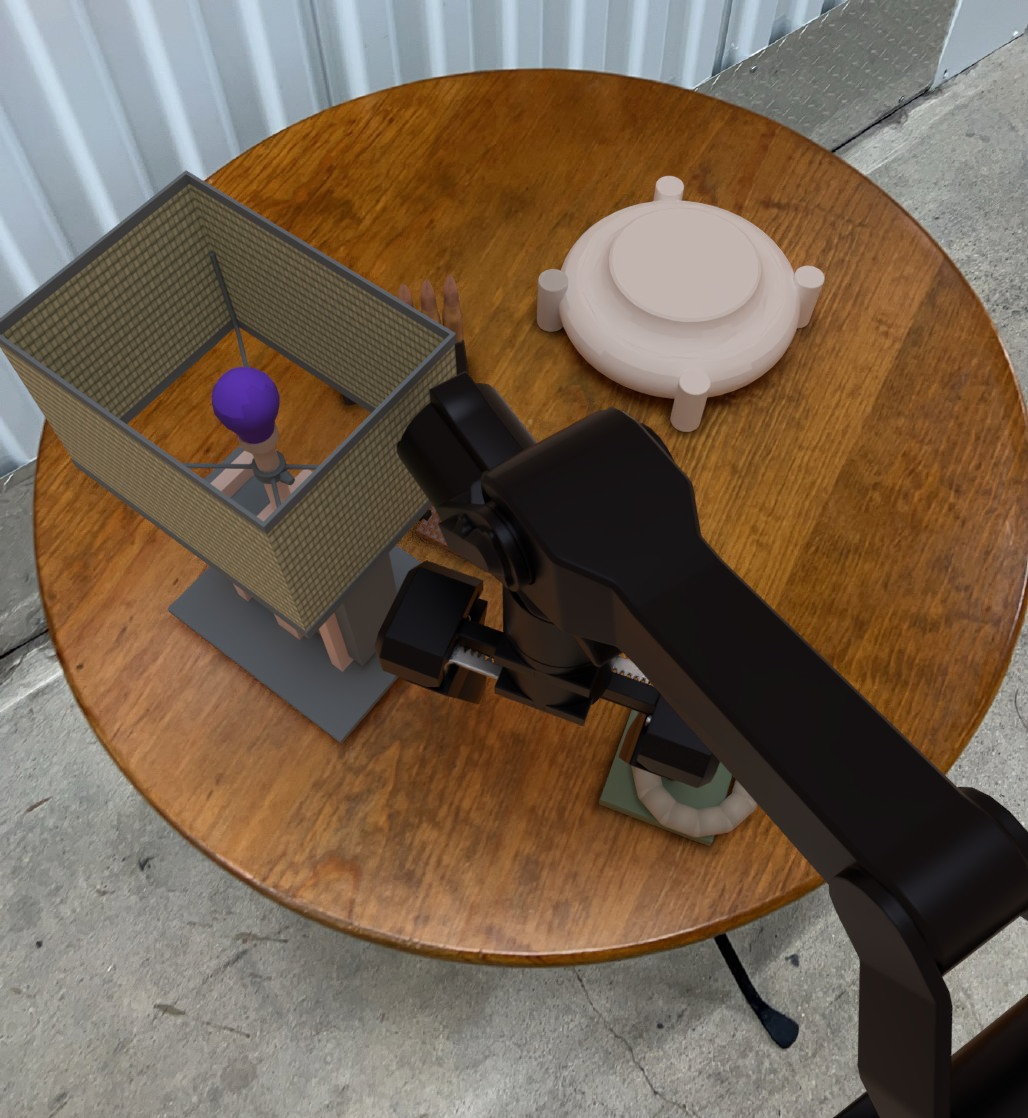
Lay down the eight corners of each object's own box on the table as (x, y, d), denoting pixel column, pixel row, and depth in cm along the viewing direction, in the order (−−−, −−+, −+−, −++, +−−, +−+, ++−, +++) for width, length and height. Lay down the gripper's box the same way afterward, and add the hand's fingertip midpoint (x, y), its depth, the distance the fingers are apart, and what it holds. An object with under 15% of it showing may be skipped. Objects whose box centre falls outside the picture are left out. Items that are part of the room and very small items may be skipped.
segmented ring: (740, 858, 72) (745, 852, 70) (614, 810, 73) (616, 803, 72) (774, 739, 76) (779, 731, 74) (654, 696, 77) (657, 687, 76)
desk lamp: (168, 617, 81) (-19, 332, 52) (296, 489, 87) (189, 167, 58) (353, 759, 76) (259, 531, 47) (476, 614, 81) (459, 329, 53)
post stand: (709, 847, 73) (734, 811, 65) (598, 804, 75) (609, 764, 67) (741, 741, 77) (769, 694, 69) (634, 702, 78) (649, 652, 70)
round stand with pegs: (532, 220, 100) (534, 159, 94) (789, 217, 101) (808, 156, 95) (541, 434, 89) (544, 381, 83) (831, 430, 90) (855, 376, 83)
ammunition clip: (345, 405, 90) (323, 308, 80) (341, 388, 91) (319, 290, 81) (469, 380, 92) (464, 282, 81) (464, 363, 93) (459, 264, 82)
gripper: (800, 535, 53) (739, 659, 66) (447, 418, 56) (458, 560, 69) (738, 740, 48) (686, 828, 61) (354, 600, 51) (386, 713, 65)
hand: (551, 722), depth 64 cm, fingers open, 9 cm apart
